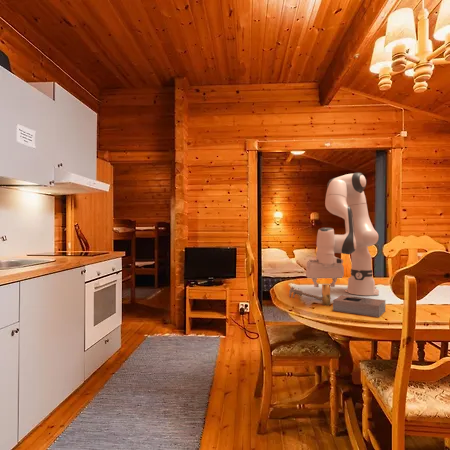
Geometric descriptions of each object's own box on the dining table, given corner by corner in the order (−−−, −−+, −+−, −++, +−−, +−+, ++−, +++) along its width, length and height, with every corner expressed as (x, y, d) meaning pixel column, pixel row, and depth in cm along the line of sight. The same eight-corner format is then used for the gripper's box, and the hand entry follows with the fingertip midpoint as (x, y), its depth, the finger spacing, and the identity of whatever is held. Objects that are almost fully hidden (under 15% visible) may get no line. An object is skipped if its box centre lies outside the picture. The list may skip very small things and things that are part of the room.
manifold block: (342, 305, 172) (342, 295, 172) (385, 311, 160) (385, 300, 160) (333, 310, 160) (333, 300, 160) (378, 317, 149) (379, 305, 149)
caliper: (289, 297, 191) (289, 286, 191) (289, 297, 192) (289, 286, 192) (326, 301, 183) (326, 289, 183) (327, 300, 184) (327, 289, 184)
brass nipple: (323, 303, 176) (323, 283, 176) (331, 304, 174) (331, 284, 174) (321, 304, 173) (320, 284, 173) (328, 305, 171) (328, 285, 171)
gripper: (310, 260, 168) (309, 288, 167) (346, 260, 174) (345, 287, 174) (303, 259, 174) (303, 286, 173) (338, 259, 180) (337, 285, 180)
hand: (324, 286), depth 174 cm, fingers open, 8 cm apart
